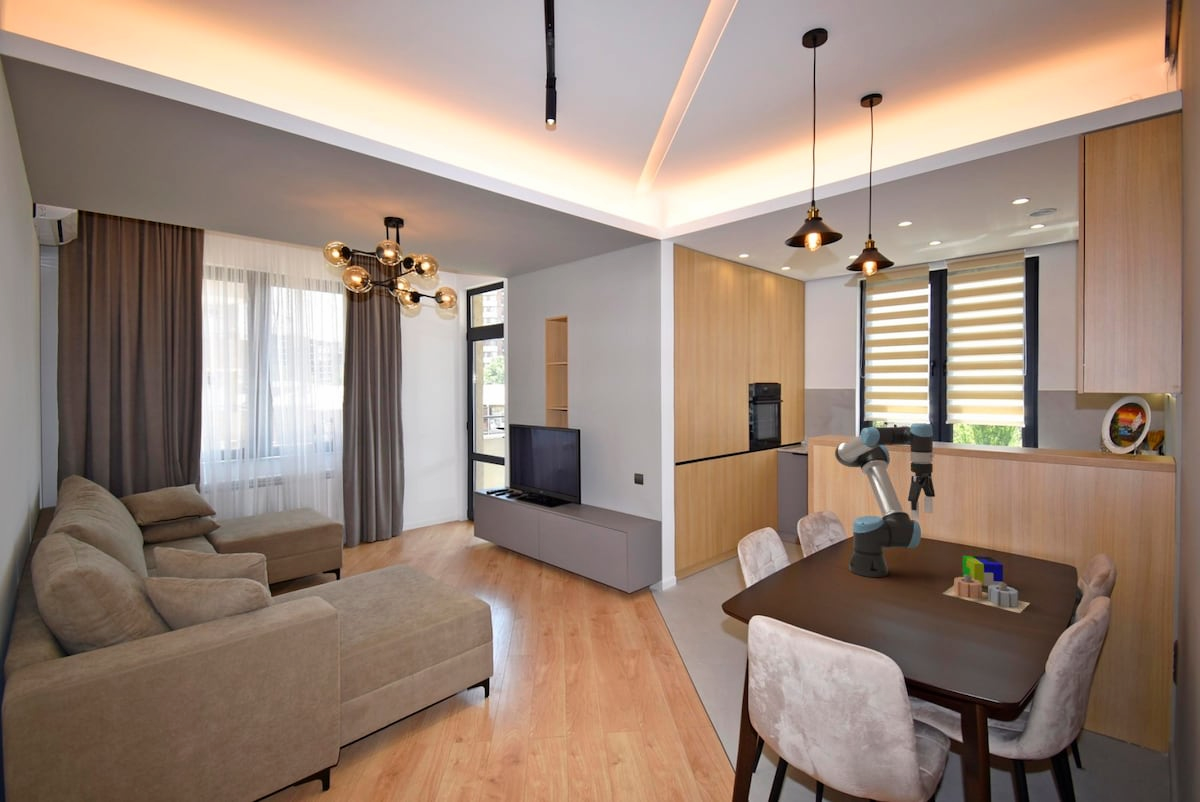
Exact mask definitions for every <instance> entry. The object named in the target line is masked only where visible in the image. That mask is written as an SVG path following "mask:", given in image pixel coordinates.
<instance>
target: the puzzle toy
mask: <svg viewBox="0 0 1200 802" xmlns="http://www.w3.org/2000/svg"><path fill="white" fill-rule="evenodd" d="M964 575H970V576H972V579H975V580H978V581H980V582H982V587H988V586H989V585H996V586H997V585H999V582H1002V583H1004V565H1003V564H1002V563H1001V562H999V561H998V560H996V559H994V558H993V557H991V556H973V555H962V577H964Z"/></svg>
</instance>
